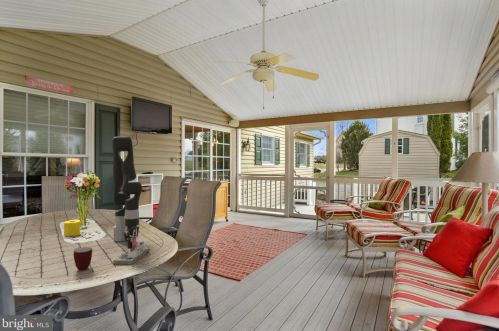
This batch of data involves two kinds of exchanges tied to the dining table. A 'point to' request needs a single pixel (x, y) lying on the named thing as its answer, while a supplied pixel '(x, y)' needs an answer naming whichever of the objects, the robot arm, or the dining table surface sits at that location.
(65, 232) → the yellow cylinder
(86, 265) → the mug
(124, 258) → the panel
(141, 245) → the toggle
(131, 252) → the toggle
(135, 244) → the cap
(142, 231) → the dining table surface
